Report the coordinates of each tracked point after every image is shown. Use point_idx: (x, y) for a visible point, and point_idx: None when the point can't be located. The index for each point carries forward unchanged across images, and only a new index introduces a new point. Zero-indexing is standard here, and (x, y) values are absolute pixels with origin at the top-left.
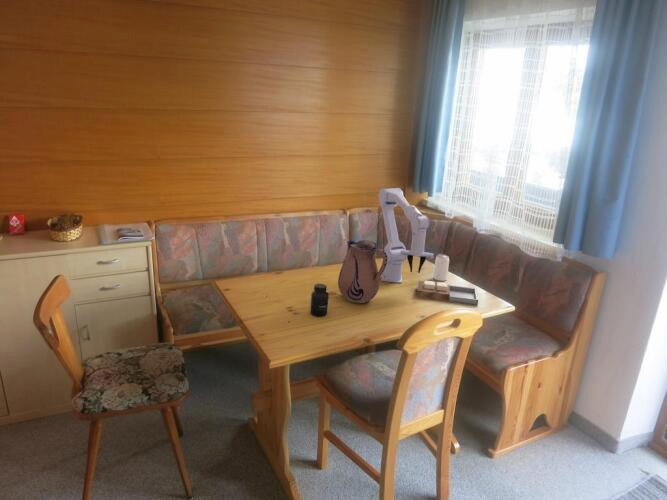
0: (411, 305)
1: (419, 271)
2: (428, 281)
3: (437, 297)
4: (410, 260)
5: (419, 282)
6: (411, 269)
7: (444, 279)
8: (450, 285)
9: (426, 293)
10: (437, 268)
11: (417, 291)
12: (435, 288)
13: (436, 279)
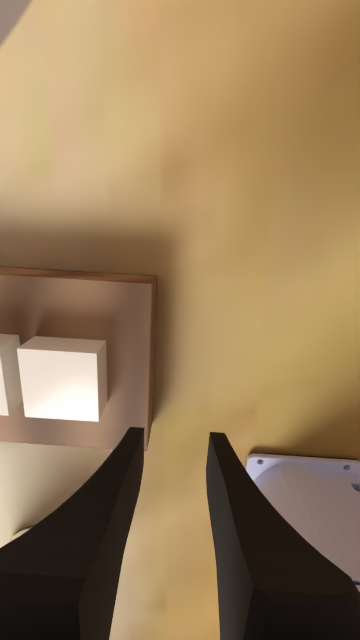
0: (192, 96)
1: (128, 435)
2: (71, 410)
3: (20, 269)
4: (282, 557)
5: None
6: (219, 448)
7: (15, 537)
8: None
9: (88, 277)
10: None
11: (151, 282)
12: None
13: None
